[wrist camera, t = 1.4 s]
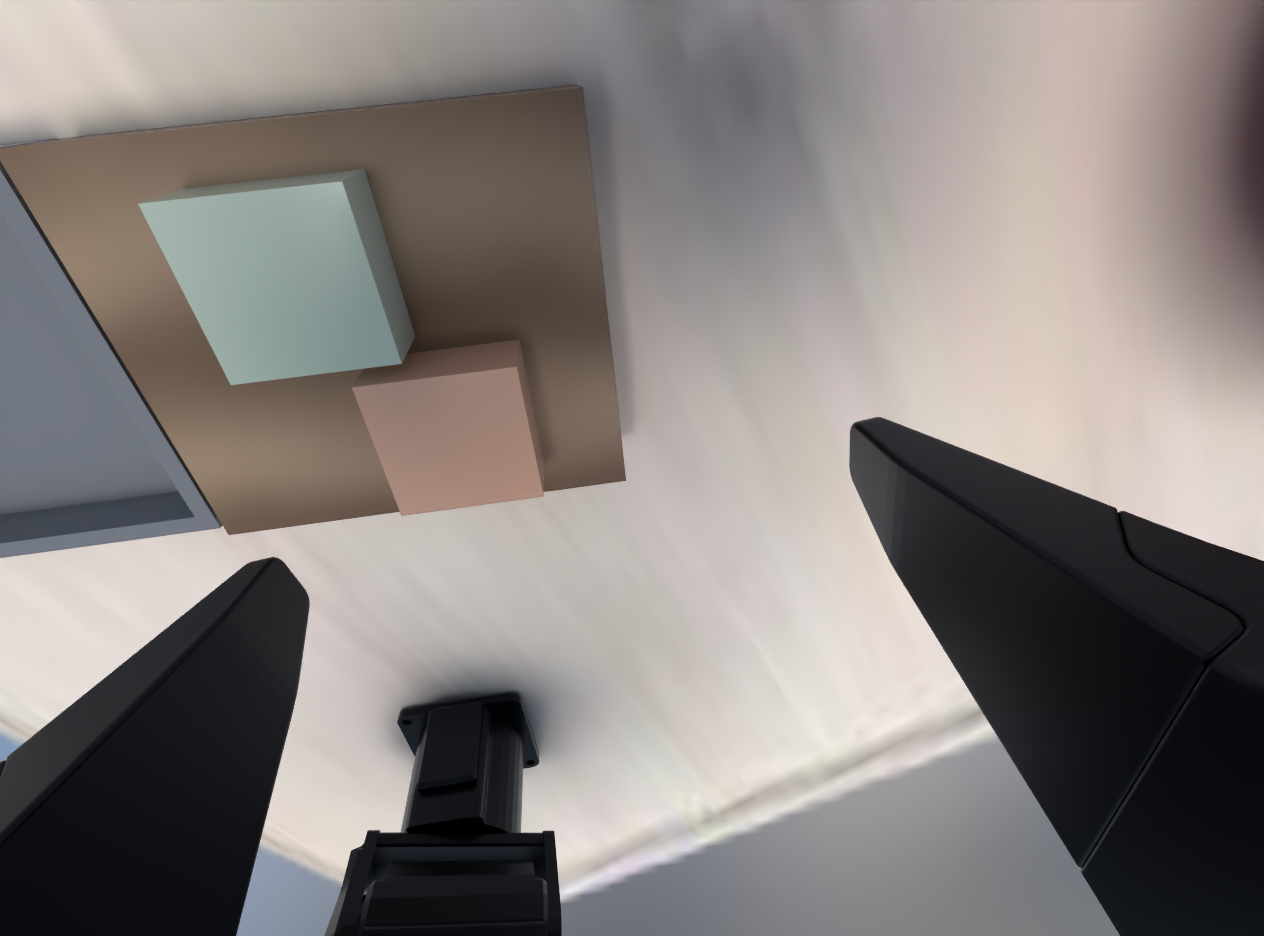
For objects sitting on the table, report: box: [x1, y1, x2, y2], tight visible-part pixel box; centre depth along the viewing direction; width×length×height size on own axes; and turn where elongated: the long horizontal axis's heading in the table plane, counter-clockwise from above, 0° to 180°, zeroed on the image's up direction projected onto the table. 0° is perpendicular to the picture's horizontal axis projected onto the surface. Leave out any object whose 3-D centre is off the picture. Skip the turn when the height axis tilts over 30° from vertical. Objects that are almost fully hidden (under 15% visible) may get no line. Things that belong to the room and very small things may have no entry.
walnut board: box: [0, 85, 626, 535], centre depth 19 cm, size 12×14×3 cm
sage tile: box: [138, 169, 415, 385], centre depth 16 cm, size 4×4×2 cm
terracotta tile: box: [352, 340, 544, 516], centre depth 19 cm, size 4×4×2 cm
